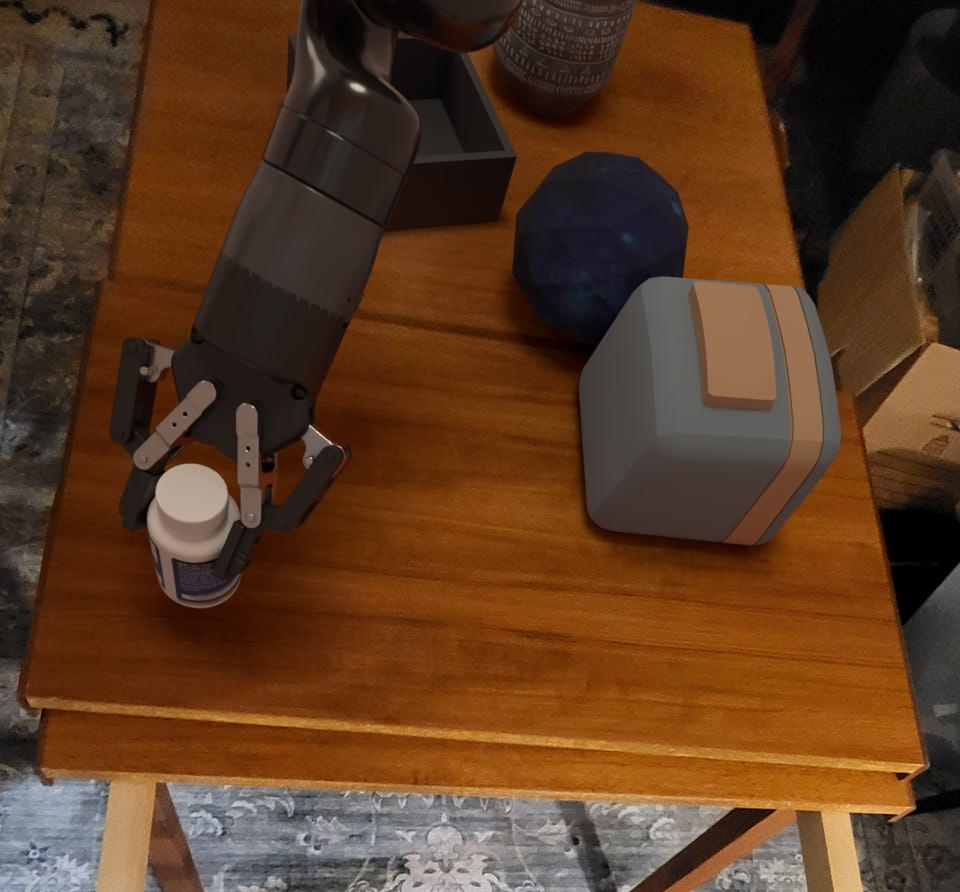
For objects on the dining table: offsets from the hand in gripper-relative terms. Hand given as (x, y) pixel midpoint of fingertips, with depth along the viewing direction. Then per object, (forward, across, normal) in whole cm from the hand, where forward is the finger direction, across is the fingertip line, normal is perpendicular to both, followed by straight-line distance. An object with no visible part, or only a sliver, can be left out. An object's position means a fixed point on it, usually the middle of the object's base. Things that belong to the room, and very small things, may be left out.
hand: (179, 550), depth 57 cm
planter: (-41, -3, +56) cm, 70 cm away
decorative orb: (-23, +12, +38) cm, 46 cm away
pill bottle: (+3, 0, +6) cm, 6 cm away
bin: (-27, -10, +42) cm, 51 cm away
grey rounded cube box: (-16, +25, +31) cm, 43 cm away
